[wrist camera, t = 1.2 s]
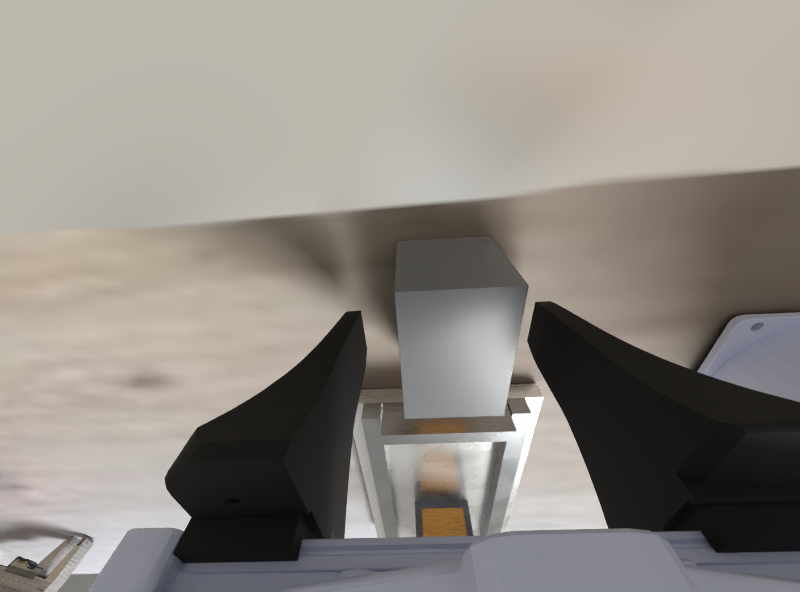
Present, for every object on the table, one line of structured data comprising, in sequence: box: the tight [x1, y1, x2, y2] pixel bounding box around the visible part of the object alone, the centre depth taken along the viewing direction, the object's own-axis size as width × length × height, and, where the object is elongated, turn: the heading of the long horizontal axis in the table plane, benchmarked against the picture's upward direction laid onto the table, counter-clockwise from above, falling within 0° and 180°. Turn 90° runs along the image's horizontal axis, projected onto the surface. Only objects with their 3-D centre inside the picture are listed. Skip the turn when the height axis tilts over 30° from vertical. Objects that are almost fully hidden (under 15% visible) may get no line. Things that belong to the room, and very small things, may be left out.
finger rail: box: [353, 383, 543, 538], centre depth 19 cm, size 11×18×6 cm, turn 4°
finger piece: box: [394, 236, 529, 419], centre depth 12 cm, size 4×6×4 cm, turn 4°
